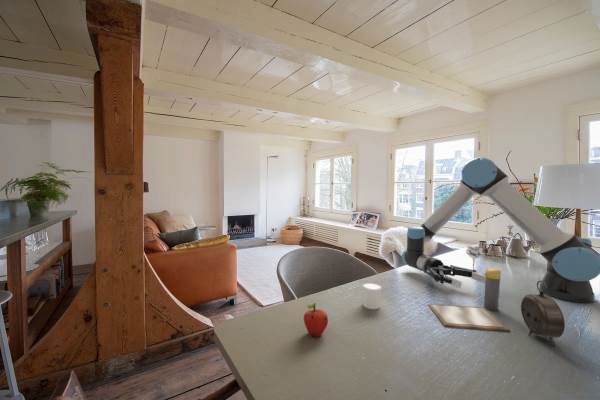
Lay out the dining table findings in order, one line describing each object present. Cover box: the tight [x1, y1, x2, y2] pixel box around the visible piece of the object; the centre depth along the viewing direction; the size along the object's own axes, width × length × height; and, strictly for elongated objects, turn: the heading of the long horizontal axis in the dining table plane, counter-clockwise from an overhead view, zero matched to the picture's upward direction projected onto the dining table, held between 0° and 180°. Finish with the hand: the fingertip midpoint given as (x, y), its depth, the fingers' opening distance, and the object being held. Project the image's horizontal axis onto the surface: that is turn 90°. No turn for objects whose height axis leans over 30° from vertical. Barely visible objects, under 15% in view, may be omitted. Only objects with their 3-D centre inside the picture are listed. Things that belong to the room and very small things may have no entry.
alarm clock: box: [520, 279, 566, 348], centre depth 73 cm, size 11×5×16 cm, turn 168°
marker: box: [483, 267, 502, 312], centre depth 91 cm, size 4×4×14 cm
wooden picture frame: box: [427, 303, 511, 332], centre depth 85 cm, size 18×14×1 cm
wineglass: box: [465, 245, 483, 274], centre depth 129 cm, size 7×7×12 cm
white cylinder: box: [361, 282, 383, 310], centre depth 92 cm, size 7×7×7 cm
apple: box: [303, 302, 329, 337], centre depth 74 cm, size 8×7×10 cm
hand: (474, 282), depth 96 cm, fingers open, 13 cm apart
